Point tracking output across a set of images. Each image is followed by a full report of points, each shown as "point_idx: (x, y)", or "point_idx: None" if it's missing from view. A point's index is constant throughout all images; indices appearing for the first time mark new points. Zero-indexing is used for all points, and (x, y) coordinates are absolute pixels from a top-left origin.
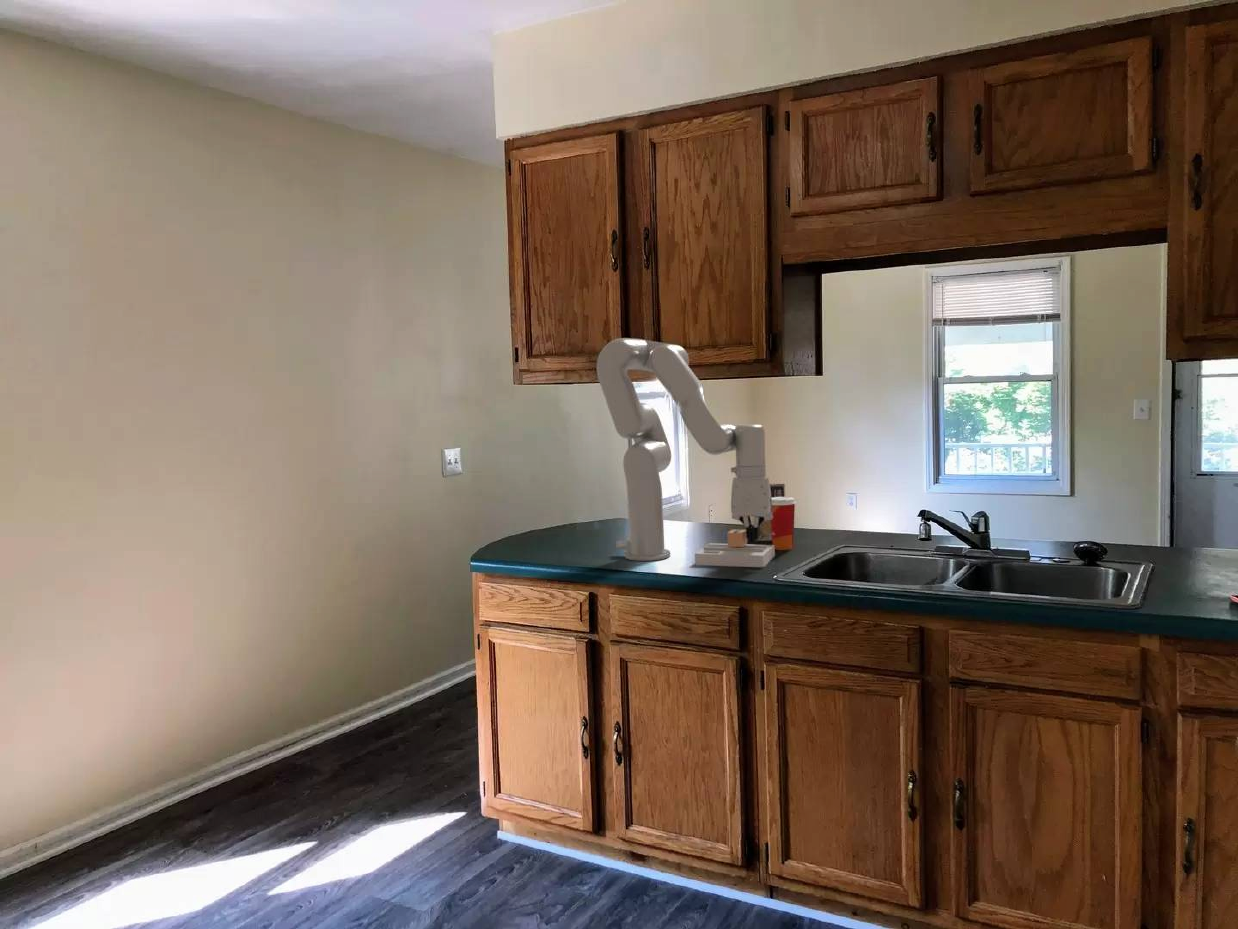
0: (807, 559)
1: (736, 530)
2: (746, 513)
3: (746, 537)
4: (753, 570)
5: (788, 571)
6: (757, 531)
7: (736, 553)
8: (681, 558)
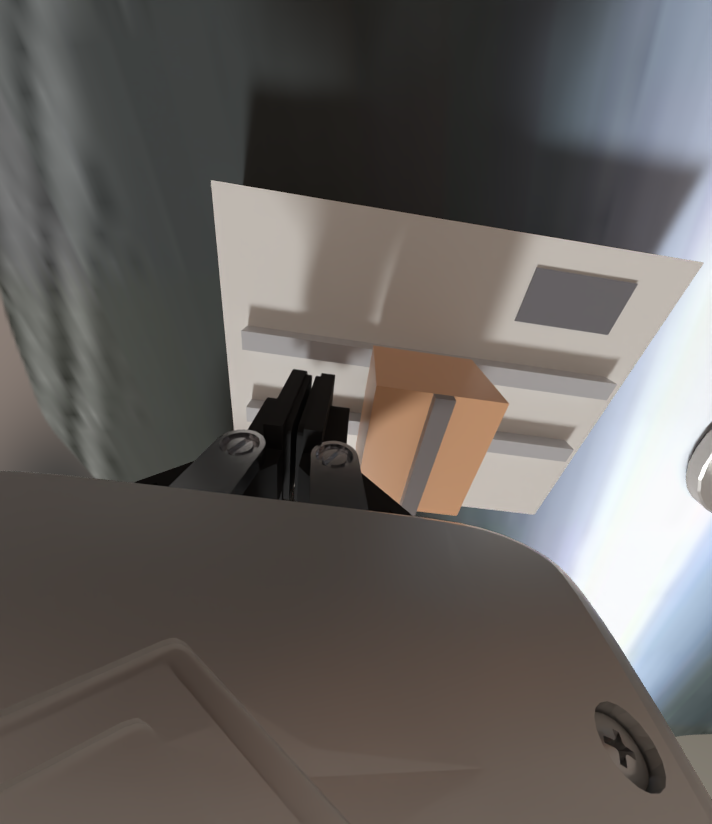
0: (102, 395)
1: (428, 457)
2: (293, 529)
3: (349, 408)
4: (284, 74)
5: (39, 42)
6: (252, 426)
7: (411, 269)
8: (655, 412)
